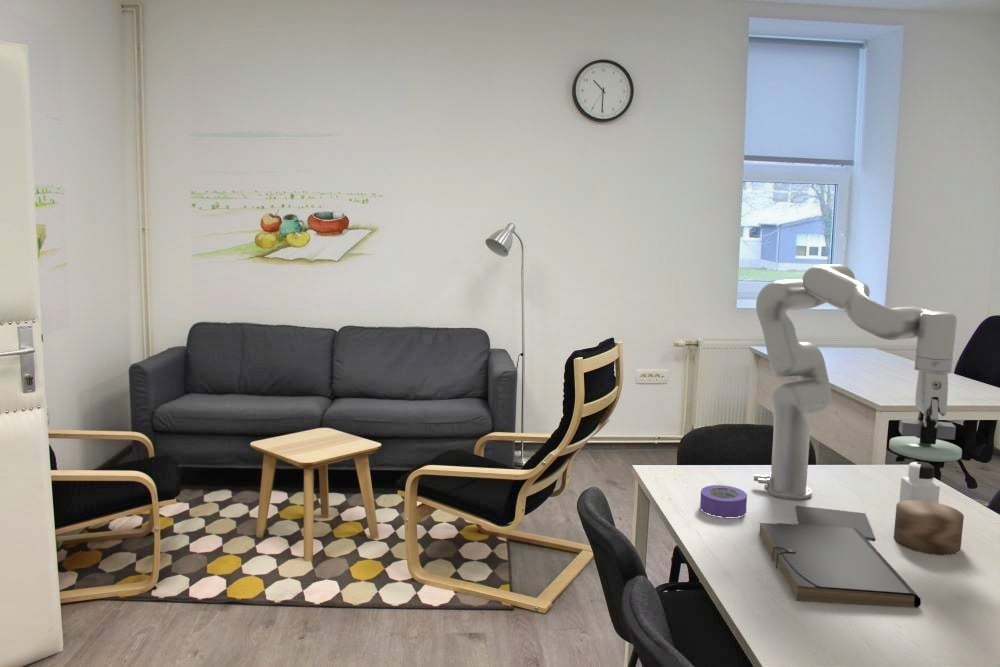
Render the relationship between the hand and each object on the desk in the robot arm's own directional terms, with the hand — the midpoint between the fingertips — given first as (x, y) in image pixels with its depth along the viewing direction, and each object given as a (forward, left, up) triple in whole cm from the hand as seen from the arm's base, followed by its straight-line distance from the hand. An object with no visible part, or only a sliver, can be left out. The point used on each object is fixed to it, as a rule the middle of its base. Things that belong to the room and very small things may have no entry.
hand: (925, 440), depth 181 cm
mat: (-18, +5, -25) cm, 31 cm away
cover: (0, 0, -3) cm, 3 cm away
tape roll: (-45, +5, -25) cm, 52 cm away
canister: (+2, -1, -25) cm, 25 cm away
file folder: (-21, -23, -26) cm, 40 cm away
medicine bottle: (+5, +25, -25) cm, 36 cm away
